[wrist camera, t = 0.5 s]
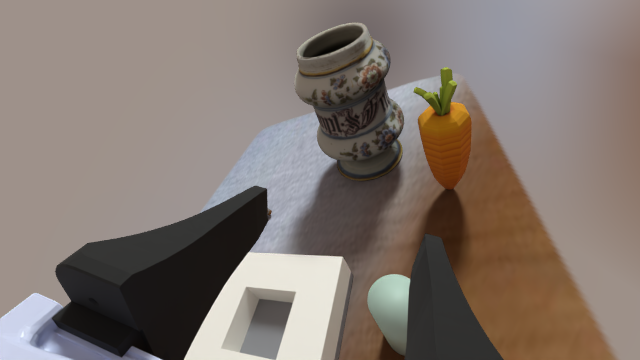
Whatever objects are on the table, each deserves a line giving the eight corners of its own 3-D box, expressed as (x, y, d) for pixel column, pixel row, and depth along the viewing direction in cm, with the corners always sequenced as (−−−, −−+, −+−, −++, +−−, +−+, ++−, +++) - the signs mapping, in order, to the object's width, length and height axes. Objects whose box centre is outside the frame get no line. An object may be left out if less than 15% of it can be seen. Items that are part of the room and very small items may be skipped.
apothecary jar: (374, 122, 51) (343, 10, 40) (428, 150, 42) (409, 17, 31) (316, 162, 49) (265, 57, 37) (361, 201, 40) (312, 78, 29)
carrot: (444, 211, 35) (431, 99, 25) (419, 185, 39) (399, 79, 29) (482, 190, 35) (484, 71, 25) (454, 167, 39) (446, 55, 29)
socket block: (323, 439, 24) (305, 432, 22) (193, 398, 30) (166, 389, 27) (353, 275, 33) (342, 256, 31) (248, 268, 39) (231, 251, 36)
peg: (431, 360, 26) (420, 330, 21) (383, 352, 27) (364, 322, 23) (431, 312, 28) (422, 276, 24) (387, 307, 30) (371, 272, 25)
